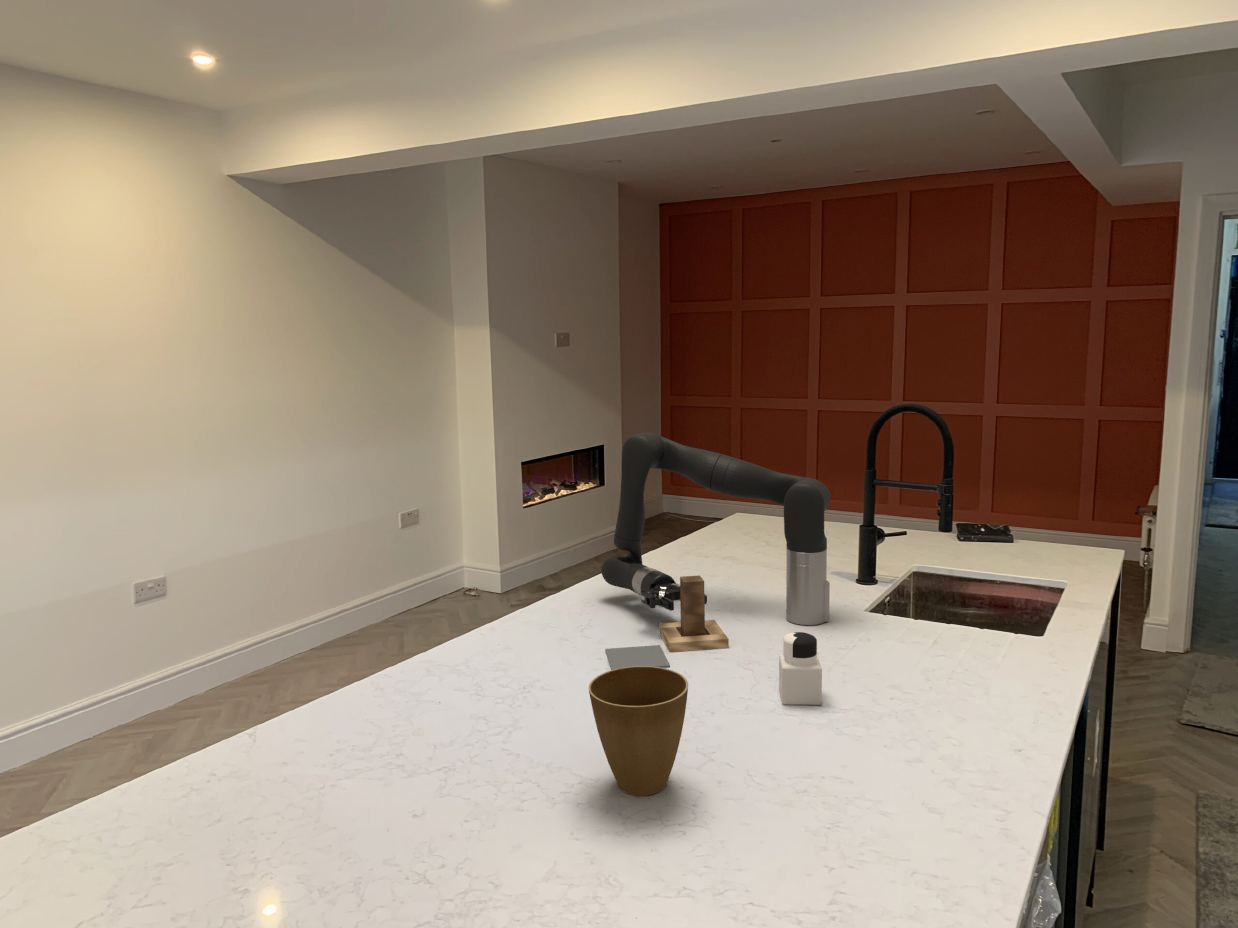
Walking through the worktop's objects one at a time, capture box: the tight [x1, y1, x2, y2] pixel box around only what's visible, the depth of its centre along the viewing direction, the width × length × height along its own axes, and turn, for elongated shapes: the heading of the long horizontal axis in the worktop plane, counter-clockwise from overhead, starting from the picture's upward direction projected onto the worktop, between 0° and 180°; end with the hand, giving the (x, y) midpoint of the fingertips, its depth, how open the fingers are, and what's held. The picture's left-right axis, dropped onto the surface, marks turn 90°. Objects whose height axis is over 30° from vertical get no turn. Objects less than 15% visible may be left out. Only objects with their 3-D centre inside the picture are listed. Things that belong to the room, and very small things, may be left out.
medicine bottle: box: [778, 631, 823, 706], centre depth 160 cm, size 7×7×12 cm
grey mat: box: [604, 644, 671, 670], centre depth 182 cm, size 12×12×1 cm
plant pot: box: [588, 666, 689, 797], centre depth 130 cm, size 15×15×16 cm
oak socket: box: [658, 619, 730, 653], centre depth 193 cm, size 13×13×2 cm
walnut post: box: [679, 575, 706, 637], centre depth 192 cm, size 4×4×14 cm
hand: (689, 603), depth 193 cm, fingers open, 8 cm apart
